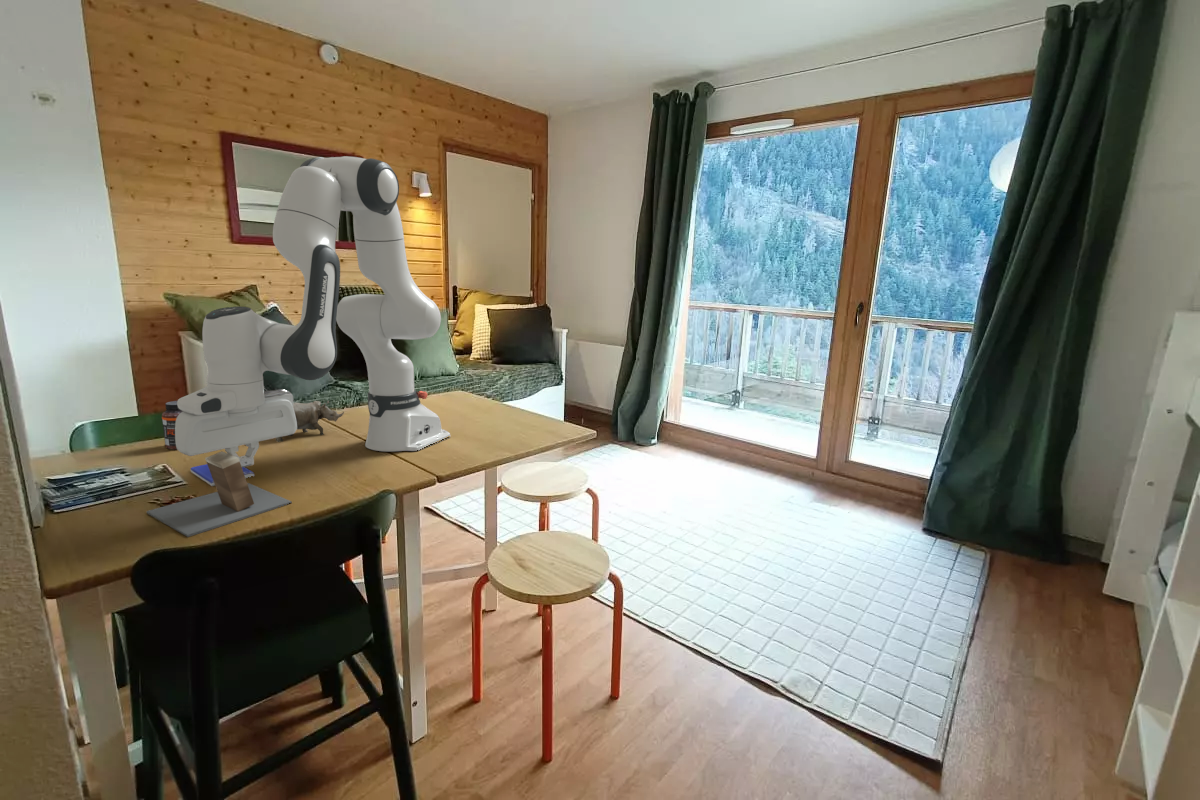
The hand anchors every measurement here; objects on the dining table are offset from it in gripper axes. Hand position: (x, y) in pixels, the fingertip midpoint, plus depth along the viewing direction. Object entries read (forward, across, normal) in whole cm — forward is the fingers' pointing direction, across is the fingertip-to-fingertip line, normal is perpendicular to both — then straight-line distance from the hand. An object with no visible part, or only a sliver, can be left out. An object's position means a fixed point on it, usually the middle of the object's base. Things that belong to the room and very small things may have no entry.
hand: (244, 466), depth 108 cm
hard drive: (+9, -5, -21) cm, 23 cm away
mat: (+8, +4, -2) cm, 9 cm away
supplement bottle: (+8, -8, -48) cm, 50 cm away
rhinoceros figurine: (+8, -33, -34) cm, 49 cm away
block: (+7, +2, 0) cm, 7 cm away
